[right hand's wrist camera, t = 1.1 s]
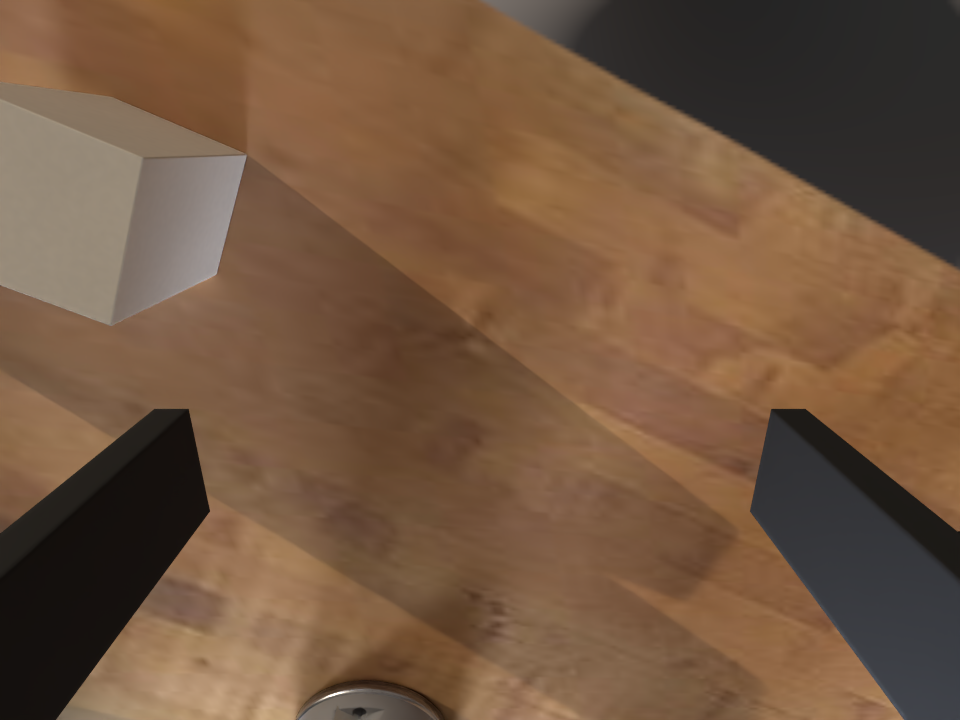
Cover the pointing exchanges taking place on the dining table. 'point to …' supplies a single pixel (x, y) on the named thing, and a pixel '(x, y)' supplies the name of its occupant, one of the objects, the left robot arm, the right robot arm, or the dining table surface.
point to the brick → (107, 202)
